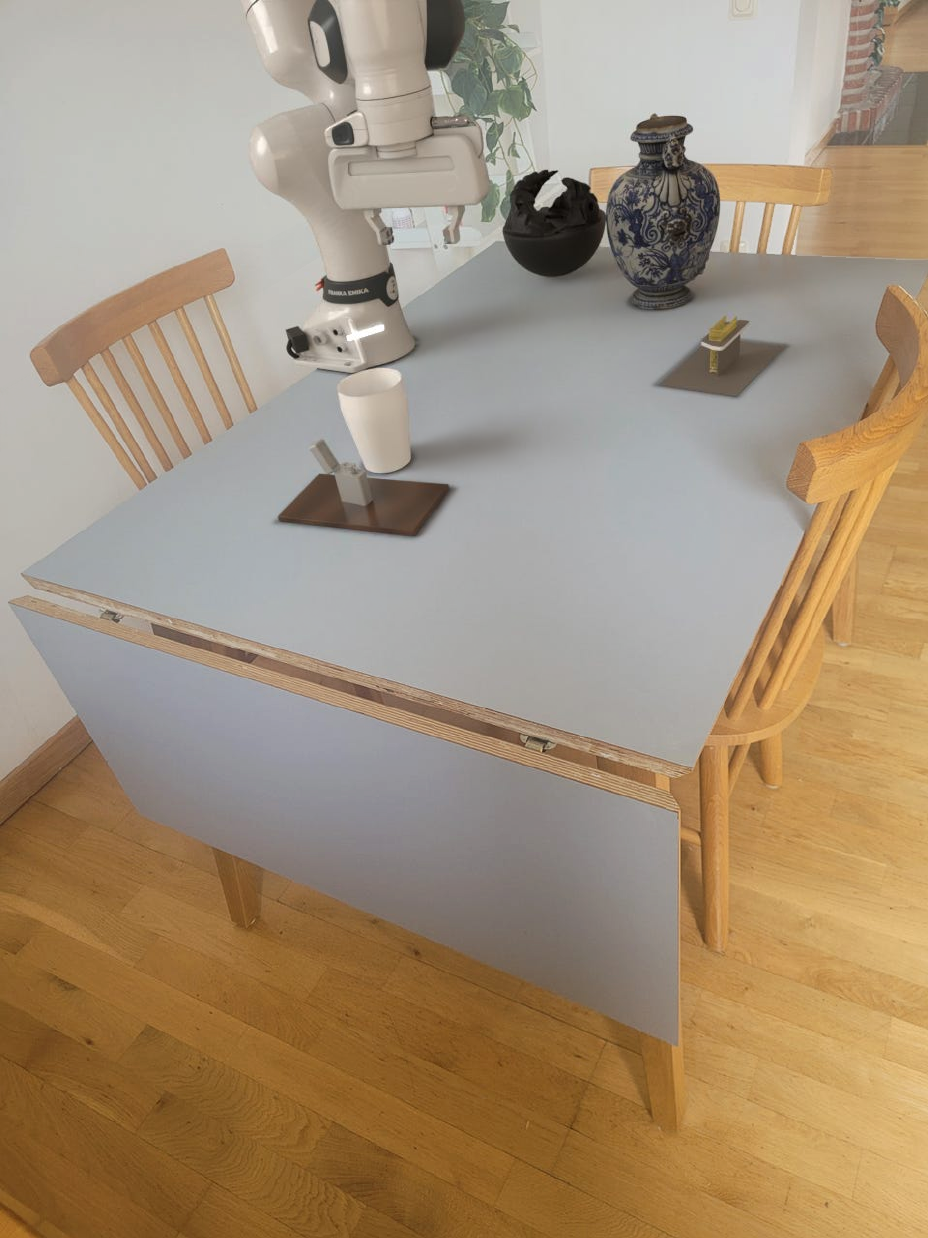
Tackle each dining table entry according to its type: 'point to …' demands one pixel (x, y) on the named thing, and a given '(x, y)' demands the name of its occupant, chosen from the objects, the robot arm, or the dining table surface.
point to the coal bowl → (553, 226)
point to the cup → (377, 417)
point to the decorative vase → (662, 215)
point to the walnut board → (367, 506)
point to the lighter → (344, 475)
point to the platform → (723, 361)
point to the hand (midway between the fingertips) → (419, 243)
